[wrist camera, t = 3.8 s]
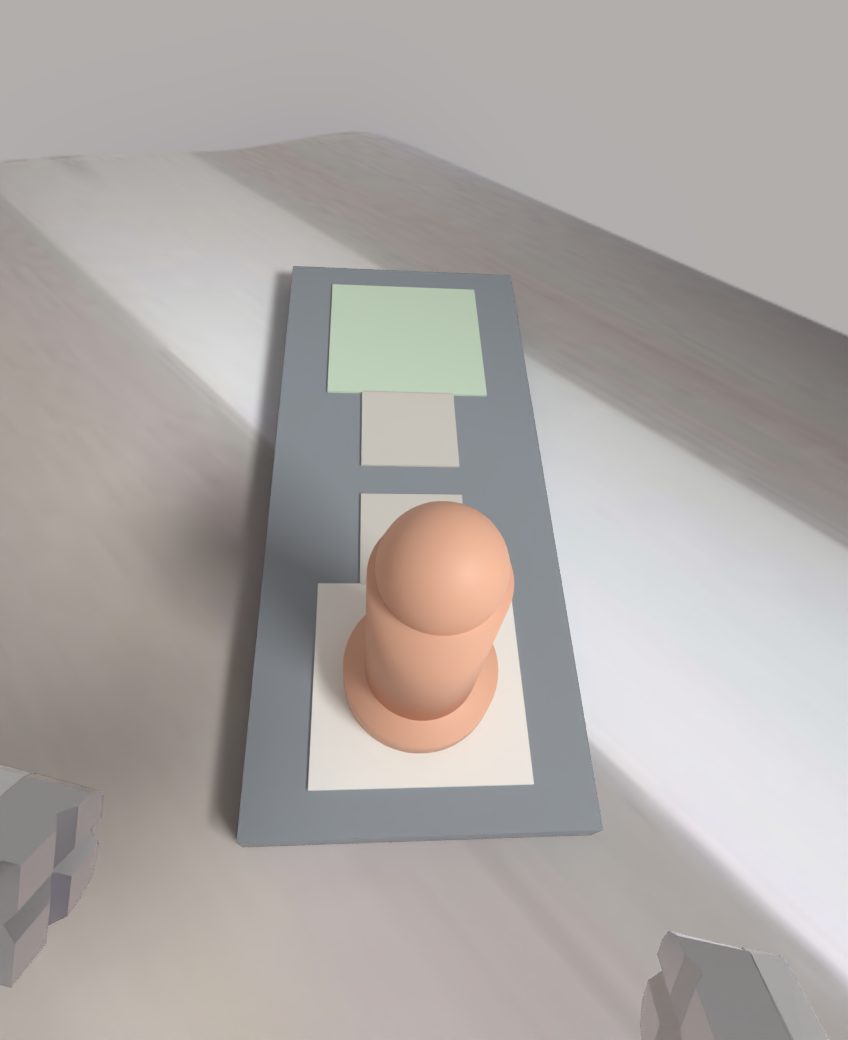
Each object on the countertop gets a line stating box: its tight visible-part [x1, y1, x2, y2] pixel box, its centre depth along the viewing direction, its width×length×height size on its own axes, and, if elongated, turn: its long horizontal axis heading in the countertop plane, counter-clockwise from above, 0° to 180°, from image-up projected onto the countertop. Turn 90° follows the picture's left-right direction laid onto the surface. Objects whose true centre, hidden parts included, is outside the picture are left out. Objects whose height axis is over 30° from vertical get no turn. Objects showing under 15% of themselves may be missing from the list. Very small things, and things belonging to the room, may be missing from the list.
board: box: [237, 266, 603, 847], centre depth 27 cm, size 11×26×1 cm, turn 2°
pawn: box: [343, 501, 514, 753], centre depth 18 cm, size 5×5×9 cm
